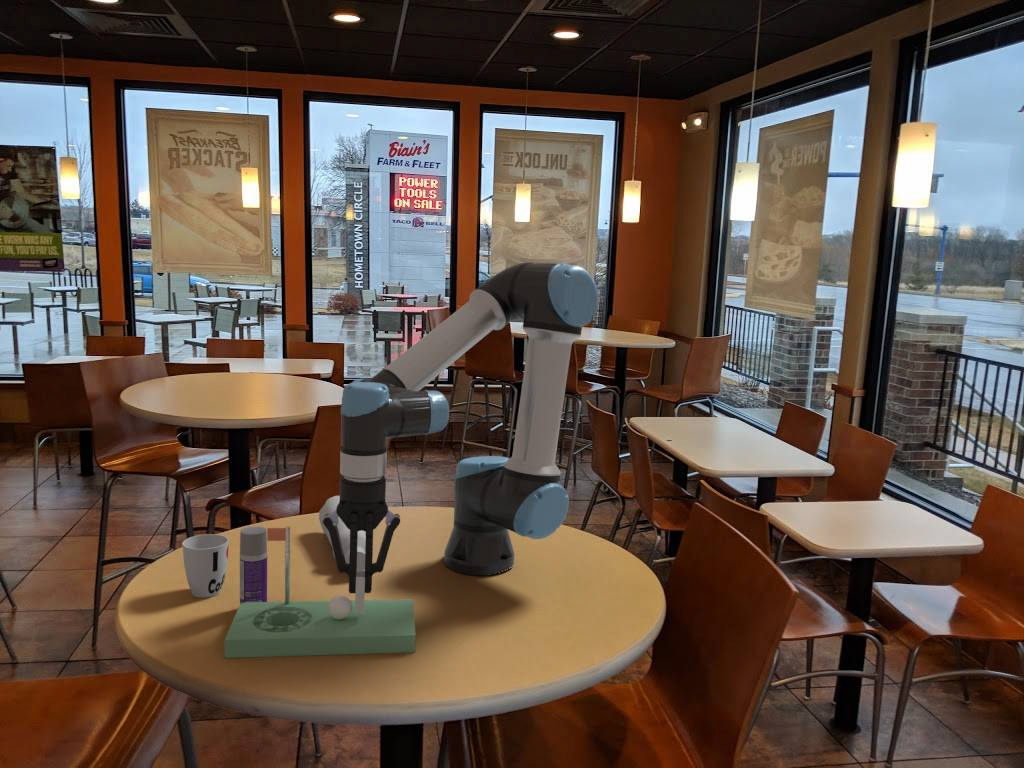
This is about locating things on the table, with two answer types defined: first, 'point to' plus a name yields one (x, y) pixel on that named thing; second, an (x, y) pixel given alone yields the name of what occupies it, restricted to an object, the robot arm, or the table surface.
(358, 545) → the bottle
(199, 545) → the cup
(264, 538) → the container
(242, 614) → the green
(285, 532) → the flag pin
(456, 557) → the robot arm
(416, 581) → the table surface
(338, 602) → the ball
